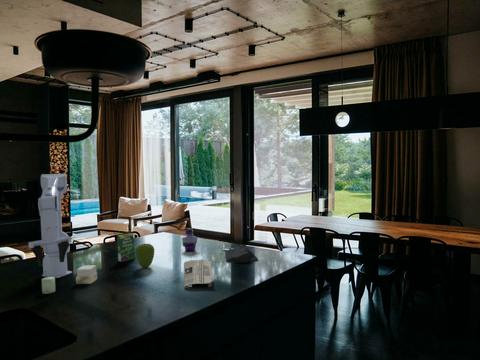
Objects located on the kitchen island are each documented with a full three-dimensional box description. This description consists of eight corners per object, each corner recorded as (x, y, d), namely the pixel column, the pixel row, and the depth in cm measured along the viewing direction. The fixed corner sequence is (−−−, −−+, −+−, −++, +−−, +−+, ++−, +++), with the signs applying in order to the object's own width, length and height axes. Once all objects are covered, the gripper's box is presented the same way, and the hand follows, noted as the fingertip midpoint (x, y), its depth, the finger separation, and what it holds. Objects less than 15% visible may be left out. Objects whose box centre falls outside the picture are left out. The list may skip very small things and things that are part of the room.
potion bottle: (178, 250, 197) (178, 228, 196) (192, 247, 203) (191, 226, 202) (187, 253, 190) (187, 230, 190) (201, 250, 196) (200, 228, 196)
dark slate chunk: (252, 251, 193) (252, 242, 193) (258, 262, 171) (258, 252, 171) (224, 252, 192) (223, 243, 192) (226, 264, 170) (225, 254, 170)
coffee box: (120, 262, 176) (119, 235, 175) (117, 261, 178) (116, 235, 177) (135, 259, 182) (134, 233, 181) (132, 258, 184) (131, 232, 183)
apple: (149, 270, 161) (148, 245, 161) (132, 270, 163) (131, 244, 162) (158, 265, 170) (157, 240, 169) (141, 264, 172) (140, 240, 171)
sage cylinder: (39, 293, 137) (38, 279, 137) (49, 289, 141) (48, 276, 141) (48, 294, 135) (47, 281, 135) (58, 290, 140) (57, 277, 139)
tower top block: (77, 276, 147) (76, 269, 147) (83, 272, 152) (82, 265, 152) (90, 276, 147) (90, 269, 147) (96, 272, 152) (96, 265, 152)
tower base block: (76, 284, 147) (75, 277, 146) (83, 279, 153) (82, 272, 152) (91, 284, 146) (90, 276, 146) (97, 279, 152) (96, 272, 152)
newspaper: (184, 265, 170) (183, 258, 170) (210, 263, 172) (210, 256, 172) (184, 292, 135) (184, 282, 135) (218, 289, 137) (217, 280, 137)
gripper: (33, 230, 129) (35, 269, 129) (73, 225, 140) (75, 261, 140) (25, 229, 134) (27, 267, 134) (65, 225, 145) (67, 259, 145)
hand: (51, 263), depth 137 cm, fingers open, 7 cm apart
